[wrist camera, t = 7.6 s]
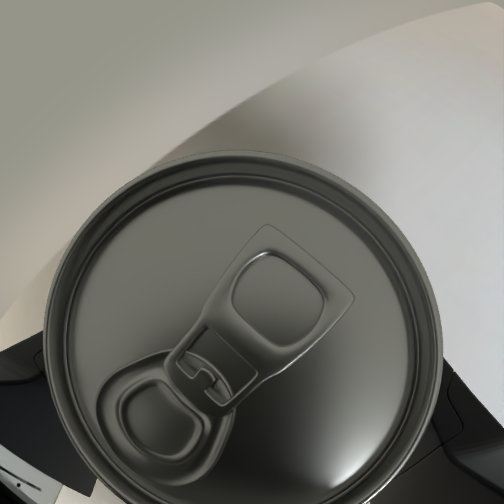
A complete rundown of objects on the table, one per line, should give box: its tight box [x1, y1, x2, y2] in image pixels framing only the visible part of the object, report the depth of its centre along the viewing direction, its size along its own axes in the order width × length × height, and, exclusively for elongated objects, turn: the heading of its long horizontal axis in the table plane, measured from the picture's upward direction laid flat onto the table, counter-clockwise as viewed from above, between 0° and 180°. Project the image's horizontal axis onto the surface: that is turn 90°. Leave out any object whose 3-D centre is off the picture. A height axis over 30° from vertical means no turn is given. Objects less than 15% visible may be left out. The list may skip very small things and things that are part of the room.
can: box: [43, 150, 443, 504], centre depth 9 cm, size 6×6×12 cm
